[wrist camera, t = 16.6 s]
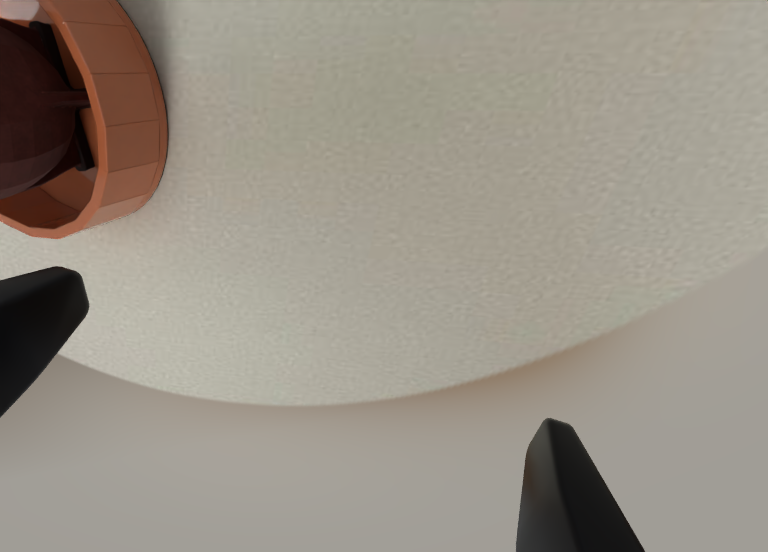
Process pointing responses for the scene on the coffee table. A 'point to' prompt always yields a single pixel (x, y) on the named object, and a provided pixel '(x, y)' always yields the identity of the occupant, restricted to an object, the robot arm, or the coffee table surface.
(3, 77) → the mate gourd
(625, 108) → the coffee table surface
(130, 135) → the holder
